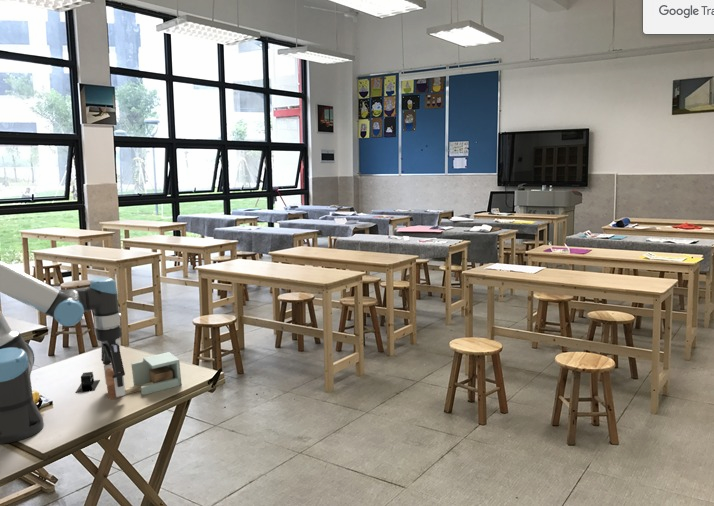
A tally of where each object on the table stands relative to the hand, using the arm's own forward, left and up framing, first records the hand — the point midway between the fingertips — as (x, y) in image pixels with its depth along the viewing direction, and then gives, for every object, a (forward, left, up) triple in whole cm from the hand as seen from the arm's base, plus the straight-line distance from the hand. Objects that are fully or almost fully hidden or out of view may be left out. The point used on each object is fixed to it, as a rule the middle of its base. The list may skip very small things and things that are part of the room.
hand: (115, 389), depth 196 cm
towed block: (+8, 0, -2) cm, 8 cm away
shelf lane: (+13, 0, -2) cm, 14 cm away
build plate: (-5, +16, -3) cm, 17 cm away
